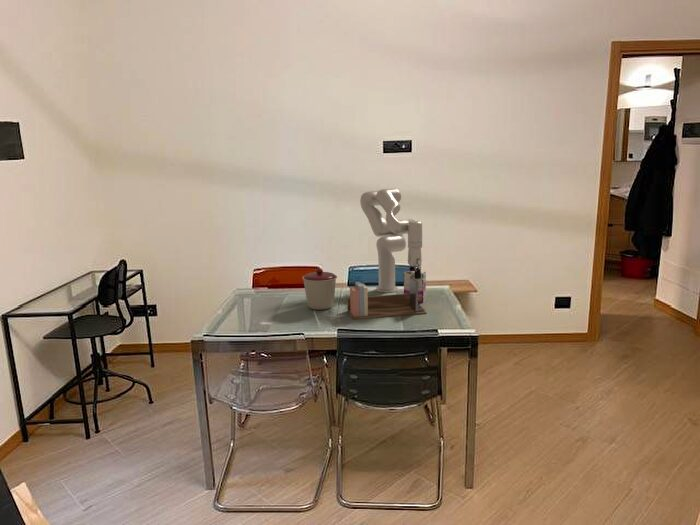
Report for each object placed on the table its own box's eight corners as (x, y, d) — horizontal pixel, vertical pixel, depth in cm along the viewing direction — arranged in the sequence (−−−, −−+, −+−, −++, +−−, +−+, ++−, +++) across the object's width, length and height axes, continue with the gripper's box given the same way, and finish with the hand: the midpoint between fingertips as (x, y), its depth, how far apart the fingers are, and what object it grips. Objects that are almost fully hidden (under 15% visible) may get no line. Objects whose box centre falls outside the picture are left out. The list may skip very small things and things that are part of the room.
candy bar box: (426, 301, 286) (426, 271, 283) (423, 303, 282) (423, 273, 279) (406, 299, 291) (406, 270, 288) (403, 301, 287) (403, 271, 283)
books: (350, 310, 269) (349, 282, 266) (363, 309, 270) (363, 281, 267) (354, 316, 259) (353, 286, 256) (368, 315, 260) (367, 285, 257)
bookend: (409, 306, 274) (409, 277, 271) (418, 305, 274) (418, 277, 272) (415, 311, 264) (415, 282, 261) (424, 310, 265) (425, 281, 262)
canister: (333, 312, 269) (332, 272, 265) (299, 311, 273) (297, 271, 268) (341, 303, 286) (340, 265, 282) (308, 302, 290) (307, 264, 286)
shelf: (347, 311, 271) (347, 298, 270) (417, 305, 278) (417, 293, 277) (353, 319, 257) (353, 306, 256) (426, 313, 264) (426, 300, 262)
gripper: (403, 242, 288) (403, 273, 292) (413, 247, 271) (413, 280, 275) (416, 241, 290) (416, 273, 293) (427, 246, 273) (427, 279, 276)
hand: (415, 276), depth 284 cm, fingers closed on candy bar box, 8 cm apart
